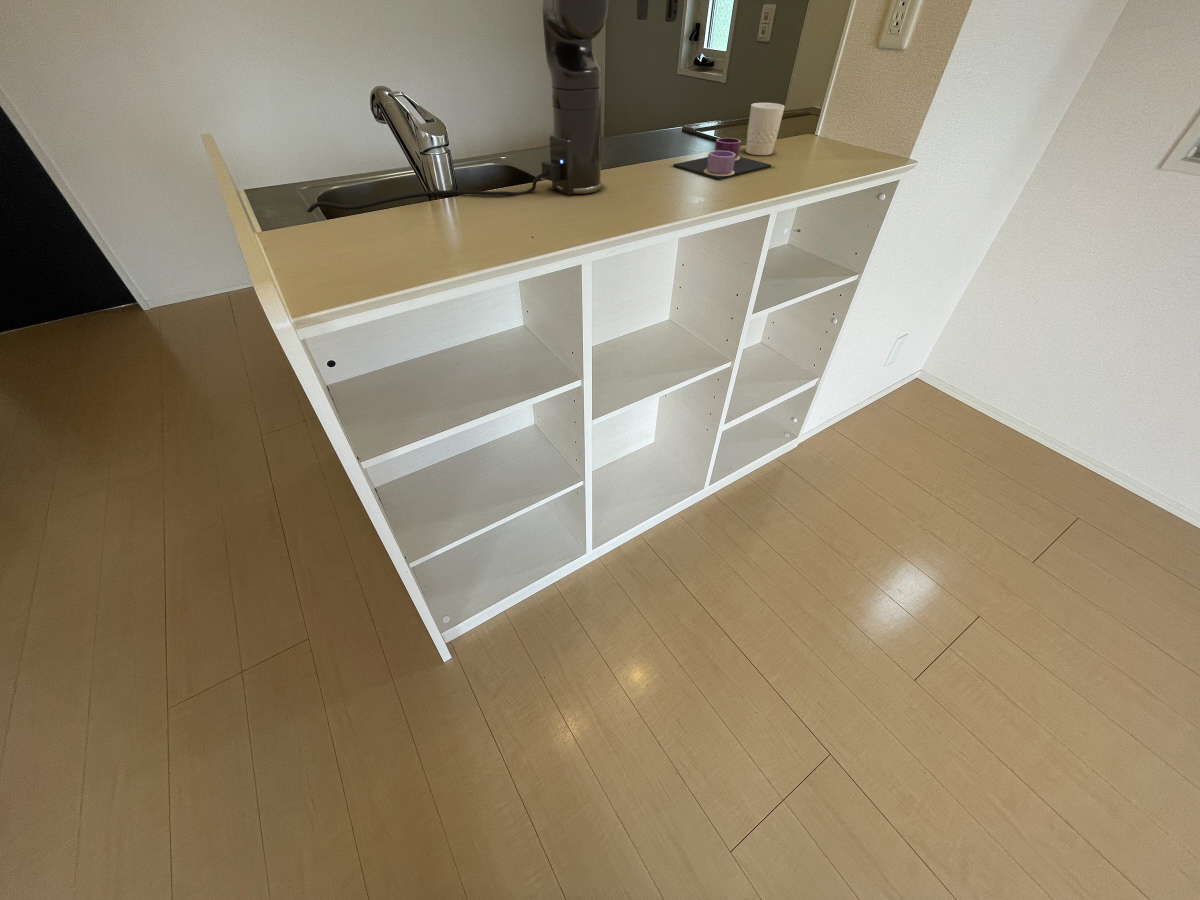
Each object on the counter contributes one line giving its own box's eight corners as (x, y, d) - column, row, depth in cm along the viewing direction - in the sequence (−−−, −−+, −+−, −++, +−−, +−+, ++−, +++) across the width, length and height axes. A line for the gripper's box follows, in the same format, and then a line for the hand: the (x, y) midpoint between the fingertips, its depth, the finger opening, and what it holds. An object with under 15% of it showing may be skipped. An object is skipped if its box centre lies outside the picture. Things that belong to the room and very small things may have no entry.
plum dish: (727, 161, 119) (729, 144, 117) (708, 156, 123) (711, 139, 120) (743, 157, 122) (746, 141, 119) (725, 152, 125) (727, 136, 123)
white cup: (778, 156, 125) (788, 108, 118) (746, 156, 125) (754, 108, 119) (770, 149, 131) (780, 102, 124) (740, 148, 131) (748, 102, 124)
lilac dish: (720, 176, 110) (723, 158, 107) (700, 170, 113) (703, 152, 111) (738, 172, 112) (741, 154, 110) (718, 166, 116) (721, 149, 113)
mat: (719, 180, 109) (719, 177, 109) (672, 166, 118) (672, 163, 118) (772, 167, 118) (772, 164, 117) (724, 155, 126) (725, 152, 126)
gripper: (622, -96, 93) (619, 19, 104) (675, -104, 85) (666, 22, 95) (652, -93, 96) (646, 19, 107) (707, -100, 88) (694, 22, 99)
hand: (655, 20), depth 101 cm, fingers open, 8 cm apart
